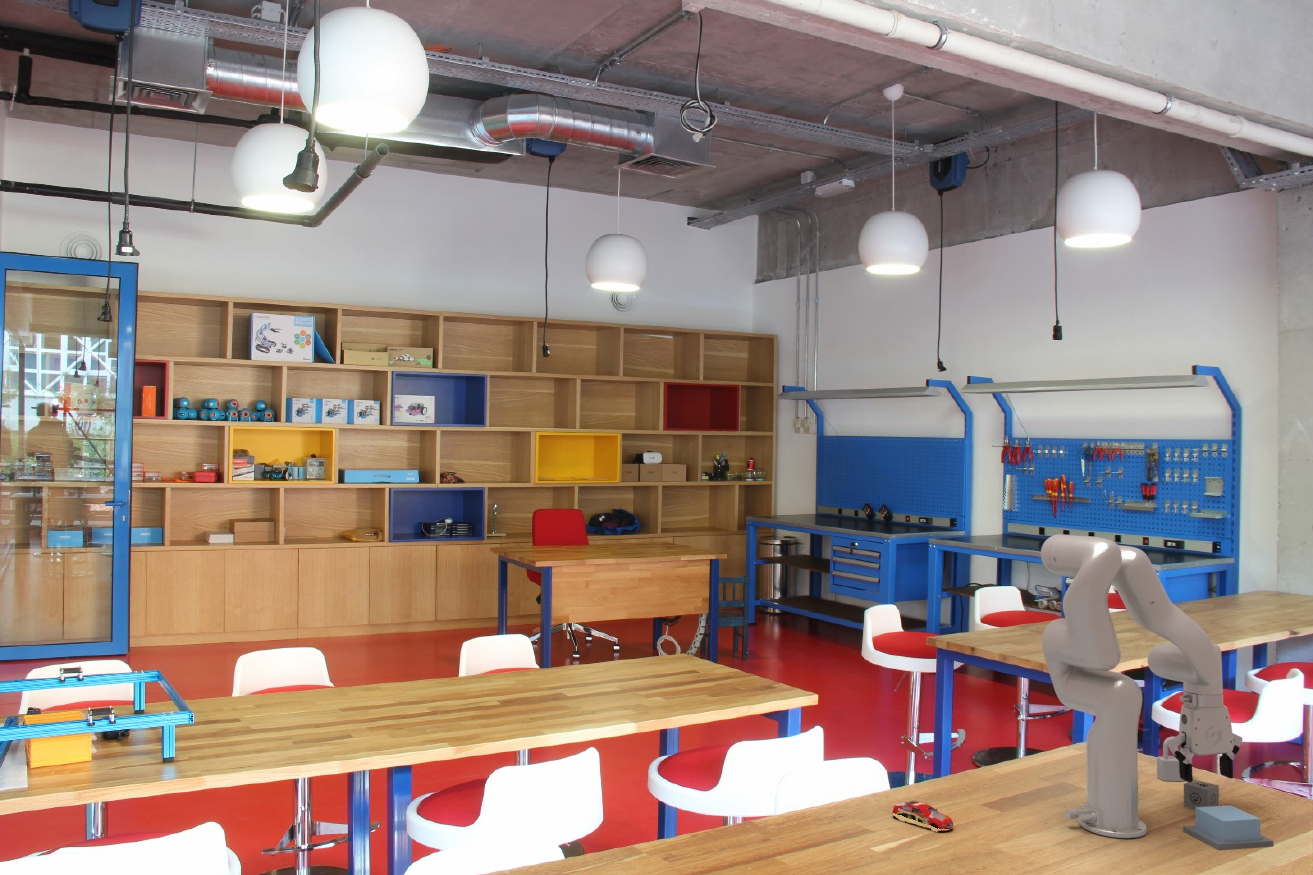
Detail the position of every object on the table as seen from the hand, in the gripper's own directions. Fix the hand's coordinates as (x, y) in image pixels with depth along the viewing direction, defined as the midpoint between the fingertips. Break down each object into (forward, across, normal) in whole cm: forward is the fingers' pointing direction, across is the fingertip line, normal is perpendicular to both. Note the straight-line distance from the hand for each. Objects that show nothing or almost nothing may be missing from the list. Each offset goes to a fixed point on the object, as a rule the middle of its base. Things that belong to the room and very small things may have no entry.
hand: (1206, 778), depth 219 cm
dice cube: (+6, -2, 0) cm, 7 cm away
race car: (+4, -65, +1) cm, 65 cm away
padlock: (+7, +6, +19) cm, 21 cm away
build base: (+6, -9, -17) cm, 20 cm away
